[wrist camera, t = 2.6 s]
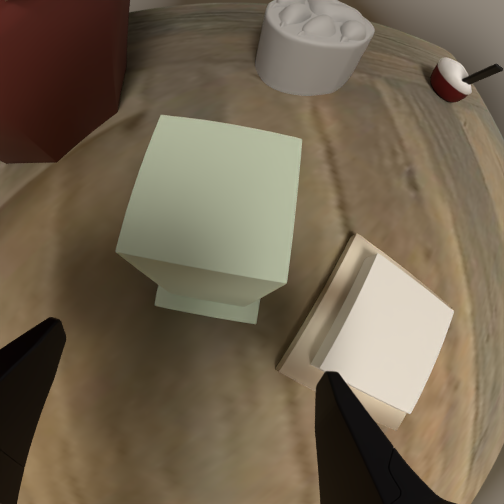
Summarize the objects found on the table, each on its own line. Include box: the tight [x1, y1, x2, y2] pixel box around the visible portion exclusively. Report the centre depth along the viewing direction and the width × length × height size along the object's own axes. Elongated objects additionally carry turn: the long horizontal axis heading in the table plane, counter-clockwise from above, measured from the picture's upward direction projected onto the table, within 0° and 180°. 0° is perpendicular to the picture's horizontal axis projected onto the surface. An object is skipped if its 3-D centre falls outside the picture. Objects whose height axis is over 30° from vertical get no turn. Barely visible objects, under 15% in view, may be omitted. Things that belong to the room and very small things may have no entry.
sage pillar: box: [115, 115, 302, 324], centre depth 15 cm, size 7×7×13 cm
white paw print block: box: [255, 0, 374, 96], centre depth 24 cm, size 10×13×9 cm
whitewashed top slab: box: [310, 253, 454, 414], centre depth 19 cm, size 9×9×2 cm
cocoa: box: [431, 57, 503, 102], centre depth 26 cm, size 10×6×12 cm, turn 157°
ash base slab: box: [275, 233, 452, 431], centre depth 21 cm, size 12×12×2 cm
